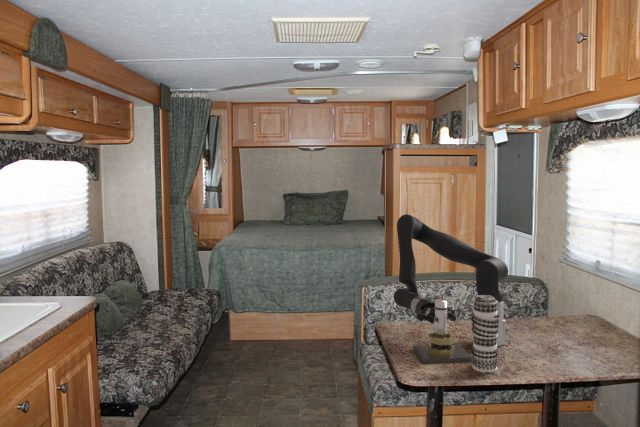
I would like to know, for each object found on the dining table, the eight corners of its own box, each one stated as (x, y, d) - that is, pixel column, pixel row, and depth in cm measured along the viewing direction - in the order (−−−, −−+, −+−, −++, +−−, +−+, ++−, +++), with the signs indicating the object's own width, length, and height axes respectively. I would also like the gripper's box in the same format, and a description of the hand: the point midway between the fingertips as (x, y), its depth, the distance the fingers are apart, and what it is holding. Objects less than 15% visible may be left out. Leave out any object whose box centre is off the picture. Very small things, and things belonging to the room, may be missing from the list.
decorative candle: (487, 360, 180) (488, 292, 178) (504, 370, 171) (505, 298, 169) (465, 364, 177) (465, 294, 175) (481, 374, 168) (482, 301, 166)
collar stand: (458, 347, 194) (458, 328, 193) (472, 361, 180) (472, 340, 179) (412, 349, 192) (412, 330, 192) (422, 363, 178) (422, 343, 178)
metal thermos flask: (445, 348, 188) (445, 298, 187) (449, 353, 184) (449, 302, 182) (433, 349, 188) (433, 299, 186) (437, 353, 184) (437, 302, 182)
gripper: (407, 300, 196) (426, 311, 181) (440, 296, 200) (461, 307, 184) (407, 318, 197) (426, 331, 181) (440, 315, 201) (461, 327, 185)
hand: (444, 319), depth 183 cm, fingers open, 8 cm apart
